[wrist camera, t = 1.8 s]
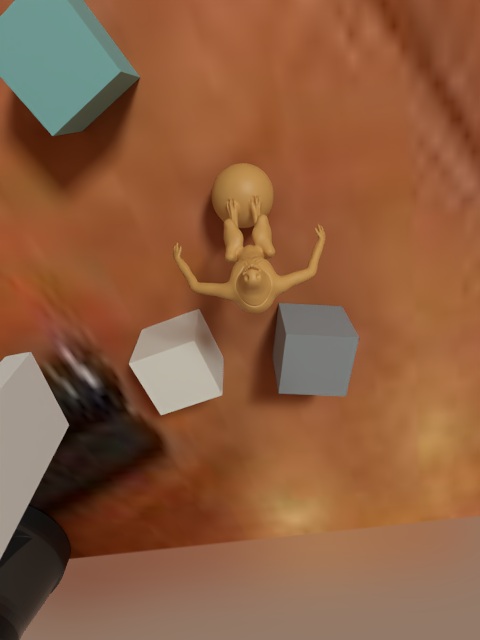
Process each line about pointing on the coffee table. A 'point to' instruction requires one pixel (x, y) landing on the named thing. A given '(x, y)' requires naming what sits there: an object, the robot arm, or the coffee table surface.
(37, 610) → the robot arm
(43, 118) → the cube teal
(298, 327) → the cube slate
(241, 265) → the figurine
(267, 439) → the coffee table surface
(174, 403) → the cube offwhite
